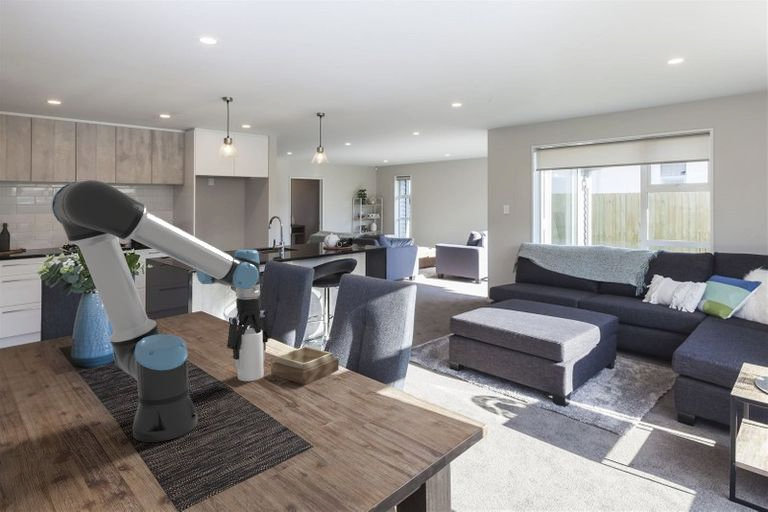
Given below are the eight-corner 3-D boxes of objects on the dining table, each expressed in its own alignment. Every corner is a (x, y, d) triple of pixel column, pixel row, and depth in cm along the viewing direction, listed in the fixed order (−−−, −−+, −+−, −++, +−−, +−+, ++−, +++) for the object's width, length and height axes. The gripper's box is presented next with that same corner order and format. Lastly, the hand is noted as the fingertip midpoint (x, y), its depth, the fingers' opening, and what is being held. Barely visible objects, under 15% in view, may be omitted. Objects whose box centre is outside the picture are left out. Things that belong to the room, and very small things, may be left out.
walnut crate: (305, 387, 141) (304, 372, 141) (271, 376, 151) (270, 362, 150) (338, 372, 154) (338, 358, 154) (305, 363, 163) (305, 350, 163)
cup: (259, 383, 144) (258, 335, 143) (234, 383, 145) (232, 334, 143) (266, 374, 153) (265, 328, 151) (242, 373, 153) (241, 328, 151)
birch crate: (305, 382, 143) (304, 364, 142) (276, 373, 151) (276, 356, 150) (333, 370, 154) (332, 353, 153) (305, 362, 162) (305, 346, 161)
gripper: (227, 303, 135) (230, 376, 137) (280, 293, 152) (282, 358, 154) (212, 301, 139) (215, 371, 142) (266, 291, 156) (267, 354, 159)
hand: (250, 364), depth 148 cm, fingers closed on cup, 8 cm apart
